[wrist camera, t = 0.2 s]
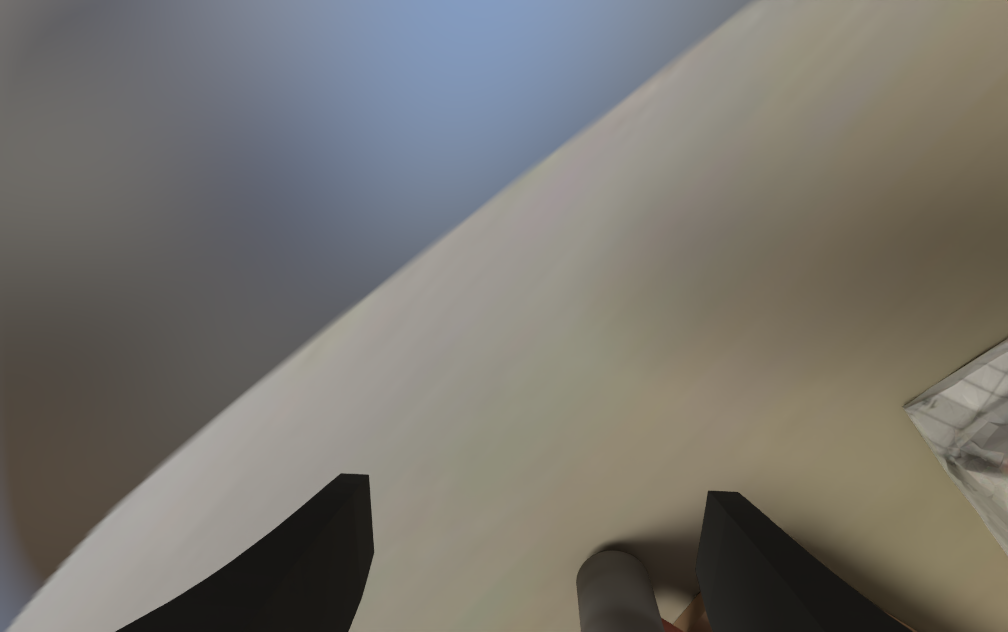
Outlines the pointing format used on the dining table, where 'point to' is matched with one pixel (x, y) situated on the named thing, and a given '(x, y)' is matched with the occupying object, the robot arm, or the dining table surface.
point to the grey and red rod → (617, 596)
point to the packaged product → (972, 433)
